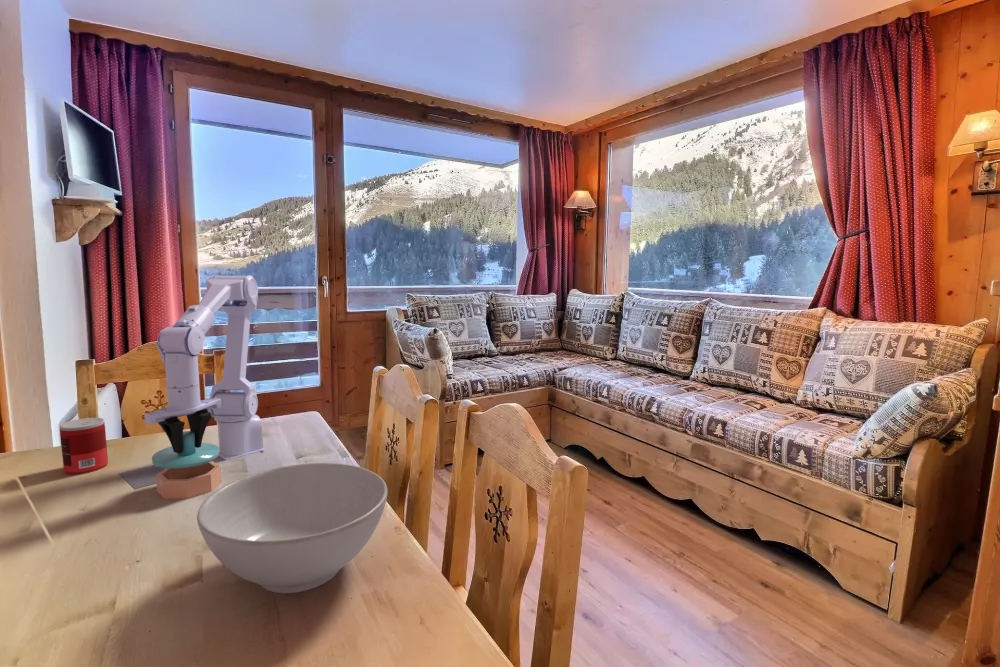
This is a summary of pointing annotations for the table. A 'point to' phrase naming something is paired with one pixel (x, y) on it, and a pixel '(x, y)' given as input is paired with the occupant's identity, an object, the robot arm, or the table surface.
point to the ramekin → (188, 481)
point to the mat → (142, 476)
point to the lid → (186, 454)
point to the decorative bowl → (293, 523)
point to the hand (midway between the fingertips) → (187, 449)
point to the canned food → (83, 445)
